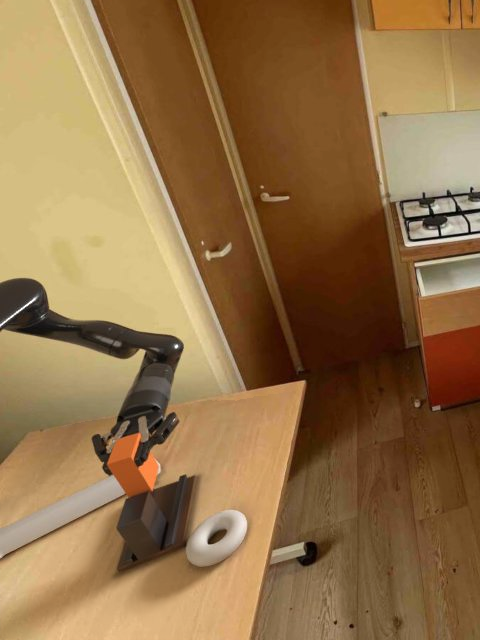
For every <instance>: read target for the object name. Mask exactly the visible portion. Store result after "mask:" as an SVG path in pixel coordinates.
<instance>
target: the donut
mask: <svg viewBox="0 0 480 640" xmlns="http://www.w3.org/2000/svg"><path fill="white" fill-rule="evenodd" d="M223 530H226V533H225V535H224V536H223V537H222V538H221V539H220V540H218V541H217V542H215V543H212V544H209V540H210V539H211V538H212V537H213V536H214V535H215V534H216V533H218V532H220V531H223ZM247 532H248V521H247V518H246V515H244V514H243V513H242V512H241V511H240V510H234V509H226V510H225V509H224V510H221V511H218V512H215V513H214V514H212V515H210V516H208V517H207V518H205V519H204V520H203V521H202V522H201V523H199V524H198V525H197V526H196V528H195V529H194V530H193V531H192V532H191V533H190V536H189V538H188V540H187V541H186V545H185V554H186V558H187V561H189V562H190V563H191V564H192V566H196V567H201V568H202V567H209V566H210V567H211V566H213V565H216V564H218V563H220V562H222V561H224V560H226V559H227V558H229V557H230V556H231V555H232V554H233V553H234V552H235V551H236V550H237V549H239V546H240V545H241V543H242V542H243V541H244V538H245V537H246V534H247Z"/></svg>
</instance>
